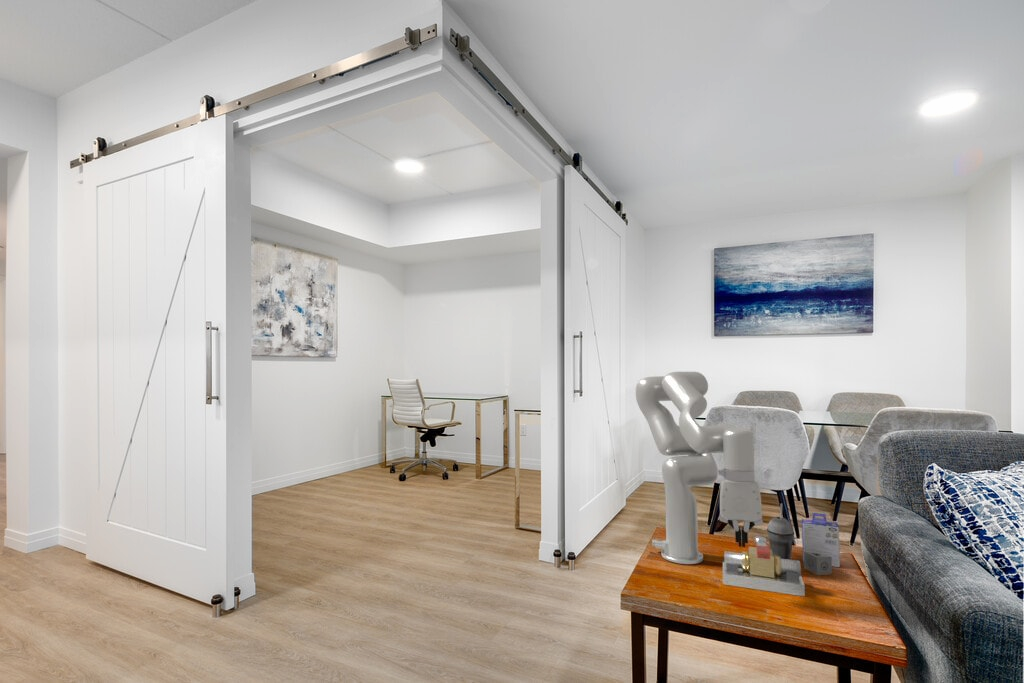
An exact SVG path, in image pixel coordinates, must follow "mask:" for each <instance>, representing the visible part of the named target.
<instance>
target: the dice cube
mask: <svg viewBox="0 0 1024 683" xmlns="http://www.w3.org/2000/svg"><path fill="white" fill-rule="evenodd" d="M803 568H804V570H807V571H808V572H810V573H812V574H813V575H816V576H822V575H832V574H833V566H832V557H831V556H829V555H827V554H825V553H823V552H820V551H806V552H804V562H803Z"/></svg>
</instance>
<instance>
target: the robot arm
mask: <svg viewBox="0 0 1024 683" xmlns="http://www.w3.org/2000/svg"><path fill="white" fill-rule="evenodd" d="M708 389H709V384H708V380H707V378H706V376H704V375H703V374H702V373H701V372H698V371H672V372H669V373H667V374H665V375H664V376H658V375H657V376H656V375H655V376H648V377H643V378H642V379H640V380H638V381H637V383H636V387H635V400H636V404H637V405H638V409H639V410H640V412H641V413H642V414H643V416H644V418H645V419H646V421H647V424H648V427H649V429H650V432H651V435H652V438H653V440H654V443H655V445H656V447H657V449H658V452H659V453H660V454H661V455H662V456H667V457H668V456H669V458H667V459H665V460H664V461H663V463H662V466H661V473H662V479H663V484H664V495H665V537H666V538H665V539H664V540H657V539H652V541H651V546H652V547H654V548H655V549H660V550H661V551H660V552H661V557H662V558H664V559H665V560H667V561H669V562H672V563H676V564H679V565H680V564H681V565H696V564H700V563H702V562H704V561H703V560H704V555H703V553H702V552H700V551H699V543H698V542H699V539H698V538H699V537H698V536H699V535H698V533H699V532H698V502H697V499H696V496H695V495H694V493H693V491H692V489H691V487H693V488H694V487H702V486H710V485H713V484H715V482H717V480H718V478H719V476H722V477H723V478H722V479H721V482H720V485H719V486H720V487H719V490H720V491H719V521H720V522H723V523H725V524H728V525H729V526H730V527H731V528H732V529H733V531H735V532H734V533H735V534H734V535H735V543H738V547H739V548H741V547H742V548H746V544H749V540H748V538H749V536H748V535H749V534H748V533H749V531H750V530H751V529H752V528H754V527H757V526H758V527H759V526H762V525H764V522H763V509H762V507H763V506H762V496H761V490H760V485H759V482H758V481H757V480H756V476H755V475H756V474H755V472H756V471H755V450H754V448H755V446H754V434H753V432H752V431H751V430H749V429H747V428H746V429H744V428H737V427H736V426H732V425H706V426H704V425H702V426H701V425H700V424H699V423H698V422H697V420H696V419H697V418H699V417H701V415H703V414H704V413H705V411H706V410H707V406H708V402H707V399H706V398H705V395H706V394H707V393H708ZM669 401H671V402H672V403H673V405H674V406H675V408H676V409H677V410H678V411H679V412H680V414H679V417H678V424H677V423H676V421H675V419H674V417H673V414H672V413H671V412H670V410H669V409H668V408H667V407H666V406H665V405H663V404H662V403H661V402H669ZM721 453H722V454H723V468H722V469H719V470H718V465H717V462H716V461H715V457H714V456H713V454H721ZM740 521H741V522H743V527H740V526H739V523H738V522H740Z"/></svg>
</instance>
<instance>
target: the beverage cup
mask: <svg viewBox="0 0 1024 683" xmlns="http://www.w3.org/2000/svg"><path fill="white" fill-rule="evenodd" d="M779 513H780V516H776V517H772V518H771V519H770V520H769V522H768V523H767V529H766V531H767V537H768V540H769V549H772V551H773V555H776V556H780V558H781V559H789V560H792V552H793V551H792V550H793V541H794V535H795V529H794V527H793V525H792V523H791V522H790V521H789V520H788V519H786V518H785V517H783V503H780V512H779Z"/></svg>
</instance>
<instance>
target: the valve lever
mask: <svg viewBox="0 0 1024 683" xmlns="http://www.w3.org/2000/svg"><path fill="white" fill-rule="evenodd" d="M767 541H768V539H767V537H764V536H759V535H756V536H754V543H755V544H756V546H755V547H756V552H757V558H762V559H770V550H769V549H770V546H768V545H767V544H768V543H767Z"/></svg>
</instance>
